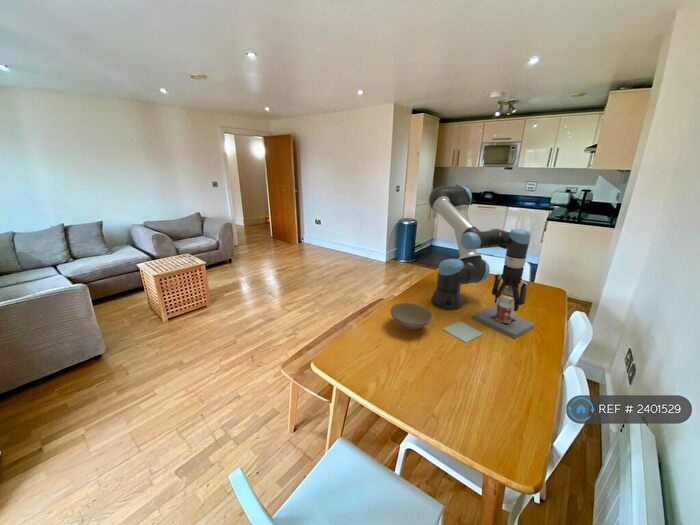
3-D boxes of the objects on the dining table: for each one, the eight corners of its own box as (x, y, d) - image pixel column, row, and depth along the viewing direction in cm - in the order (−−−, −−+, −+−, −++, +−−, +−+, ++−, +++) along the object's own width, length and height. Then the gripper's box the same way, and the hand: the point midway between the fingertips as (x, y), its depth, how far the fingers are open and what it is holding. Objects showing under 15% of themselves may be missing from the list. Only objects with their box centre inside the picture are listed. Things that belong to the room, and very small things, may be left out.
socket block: (472, 318, 133) (472, 314, 132) (491, 309, 141) (492, 305, 140) (514, 338, 117) (515, 334, 116) (533, 327, 125) (534, 323, 124)
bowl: (438, 327, 126) (440, 311, 123) (417, 345, 113) (419, 327, 110) (403, 313, 138) (404, 298, 135) (381, 328, 125) (381, 312, 122)
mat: (442, 329, 124) (442, 328, 123) (459, 321, 130) (459, 321, 130) (465, 343, 114) (466, 342, 114) (483, 334, 120) (483, 333, 120)
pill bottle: (504, 324, 124) (508, 301, 121) (493, 318, 130) (496, 296, 127) (514, 321, 126) (518, 299, 123) (502, 315, 132) (506, 294, 129)
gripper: (487, 261, 126) (480, 306, 133) (533, 274, 110) (521, 324, 117) (497, 258, 129) (489, 303, 137) (542, 270, 114) (530, 320, 121)
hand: (504, 313), depth 127 cm, fingers closed on pill bottle, 6 cm apart
